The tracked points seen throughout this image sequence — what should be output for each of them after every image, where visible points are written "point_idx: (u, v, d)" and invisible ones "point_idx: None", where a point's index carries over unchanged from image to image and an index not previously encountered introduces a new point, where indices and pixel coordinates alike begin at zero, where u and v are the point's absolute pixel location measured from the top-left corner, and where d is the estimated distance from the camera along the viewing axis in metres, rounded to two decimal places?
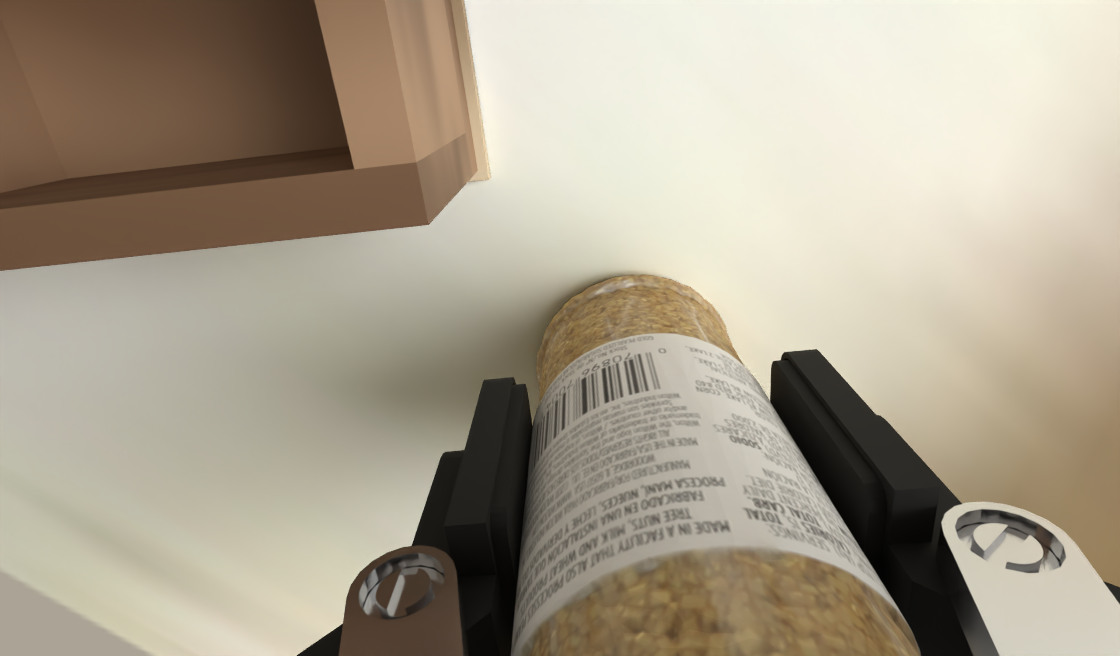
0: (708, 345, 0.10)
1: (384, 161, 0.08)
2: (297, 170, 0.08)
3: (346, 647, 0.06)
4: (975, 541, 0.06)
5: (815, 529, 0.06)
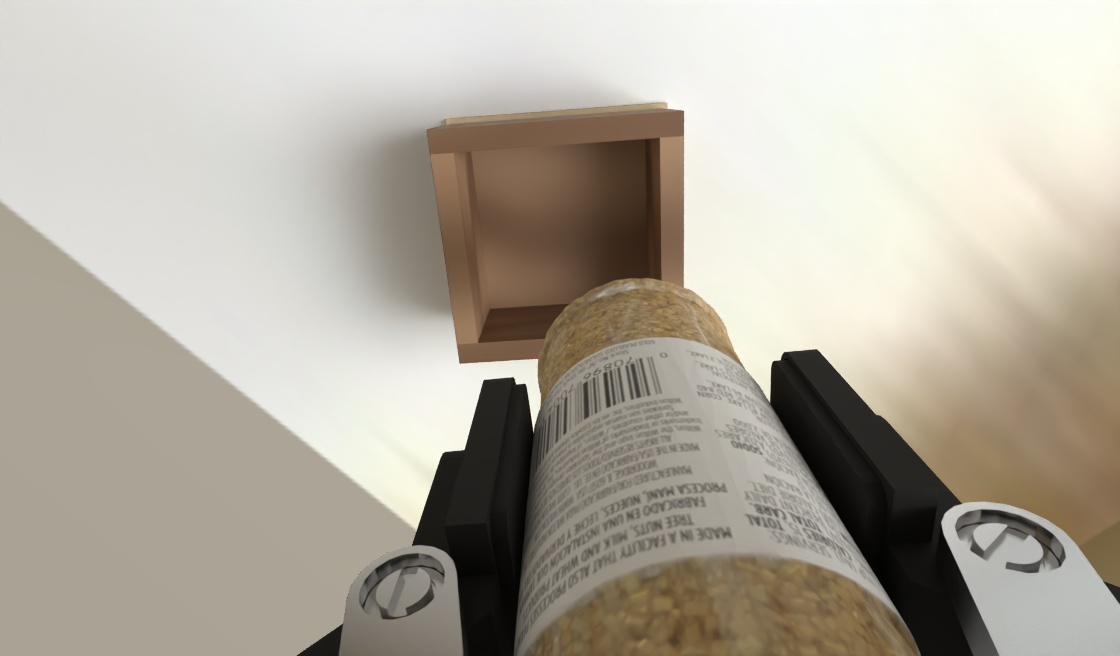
0: (709, 349, 0.10)
1: None
2: None
3: (346, 647, 0.06)
4: (975, 541, 0.06)
5: (818, 534, 0.06)
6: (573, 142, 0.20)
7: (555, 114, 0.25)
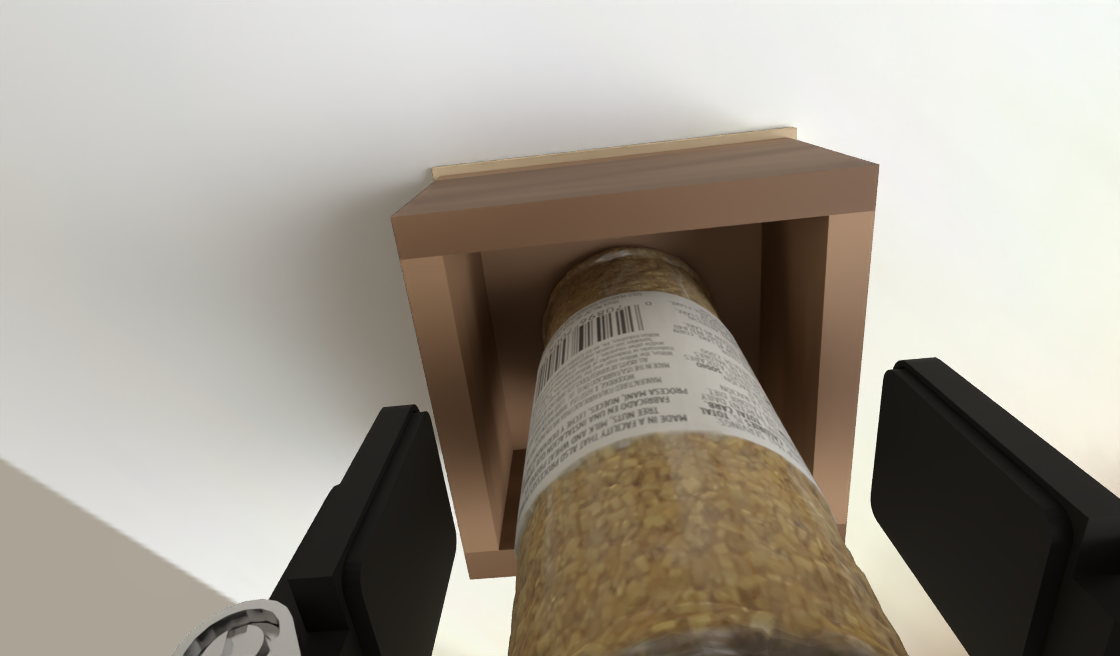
0: (689, 301, 0.12)
1: None
2: None
3: None
4: None
5: (756, 425, 0.08)
6: (665, 229, 0.11)
7: (611, 154, 0.15)
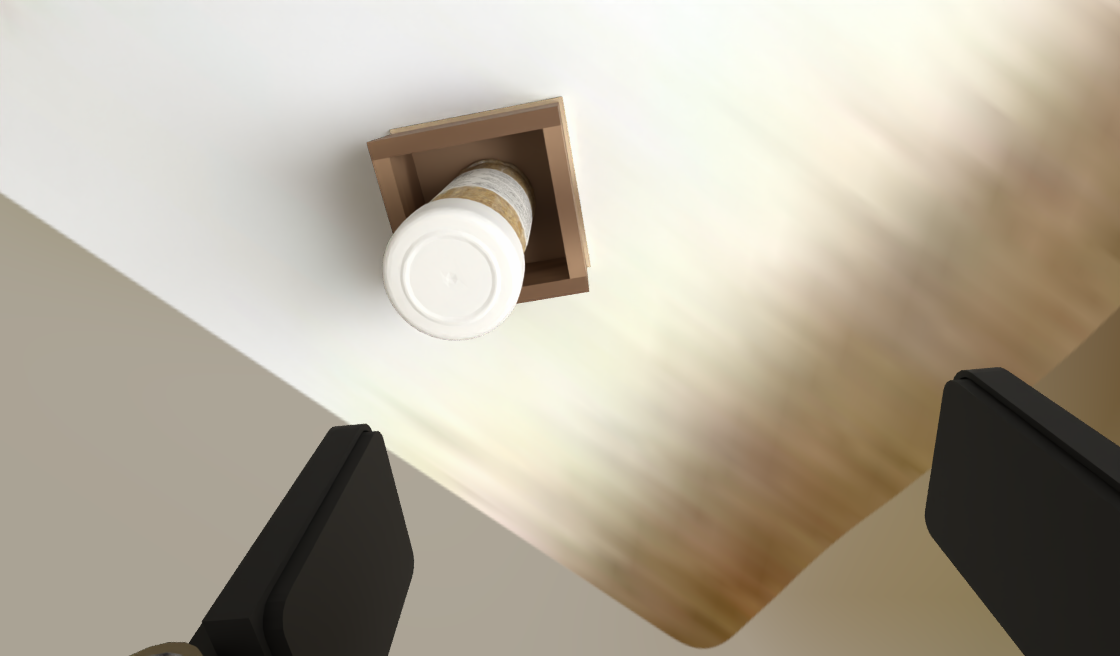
0: (498, 170, 0.28)
1: (578, 276, 0.29)
2: (550, 278, 0.30)
3: None
4: None
5: (491, 187, 0.24)
6: (477, 139, 0.27)
7: (475, 116, 0.31)
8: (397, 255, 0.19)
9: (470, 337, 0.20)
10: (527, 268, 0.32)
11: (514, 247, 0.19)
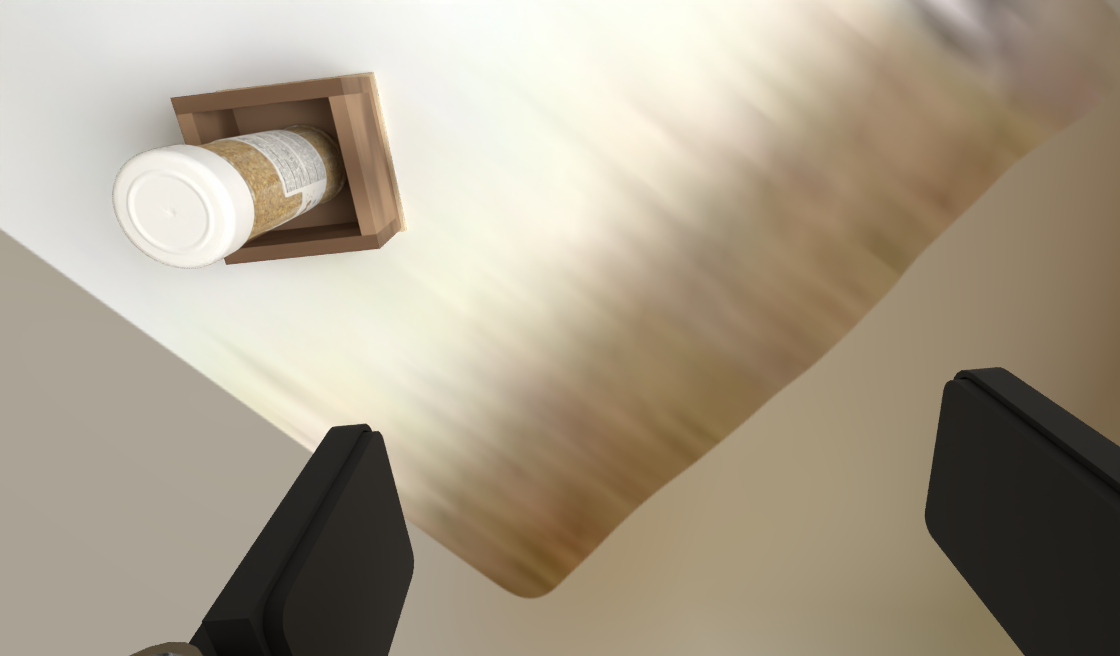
0: (292, 133, 0.31)
1: (368, 233, 0.33)
2: (347, 234, 0.33)
3: None
4: None
5: (255, 143, 0.27)
6: (270, 102, 0.30)
7: None
8: (122, 189, 0.22)
9: (194, 266, 0.24)
10: (339, 227, 0.35)
11: (226, 189, 0.23)
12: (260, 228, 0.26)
